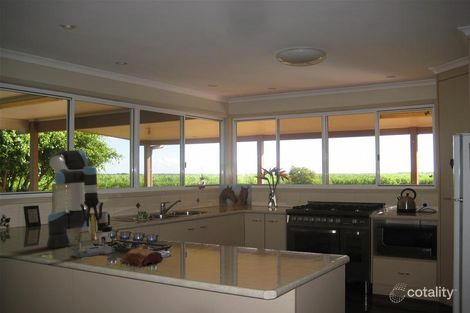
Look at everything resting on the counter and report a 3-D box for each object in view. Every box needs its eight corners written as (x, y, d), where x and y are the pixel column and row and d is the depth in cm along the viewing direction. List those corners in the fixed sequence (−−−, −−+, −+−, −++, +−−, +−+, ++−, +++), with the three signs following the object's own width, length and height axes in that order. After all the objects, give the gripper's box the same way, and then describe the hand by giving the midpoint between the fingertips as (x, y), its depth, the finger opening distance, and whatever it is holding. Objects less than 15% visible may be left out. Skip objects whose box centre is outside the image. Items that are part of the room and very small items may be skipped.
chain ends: (73, 255, 268) (72, 249, 268) (110, 250, 279) (110, 244, 280) (76, 258, 259) (76, 251, 259) (115, 252, 271) (114, 246, 271)
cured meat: (143, 255, 256) (142, 243, 256) (170, 260, 239) (169, 247, 239) (114, 262, 243) (113, 249, 243) (141, 268, 226) (140, 254, 226)
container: (110, 247, 291) (109, 226, 291) (99, 247, 292) (98, 227, 293) (116, 244, 298) (115, 225, 299) (105, 245, 300) (104, 225, 300)
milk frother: (106, 230, 379) (105, 212, 379) (88, 231, 379) (87, 213, 379) (111, 227, 393) (110, 210, 393) (93, 228, 393) (92, 211, 393)
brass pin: (90, 240, 270) (88, 213, 270) (95, 239, 272) (94, 212, 272) (91, 240, 267) (90, 213, 268) (96, 240, 269) (95, 213, 269)
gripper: (78, 193, 263) (80, 234, 262) (106, 191, 271) (108, 230, 271) (75, 193, 269) (77, 232, 269) (103, 191, 277) (105, 229, 277)
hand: (93, 231), depth 270 cm, fingers closed on brass pin, 3 cm apart
